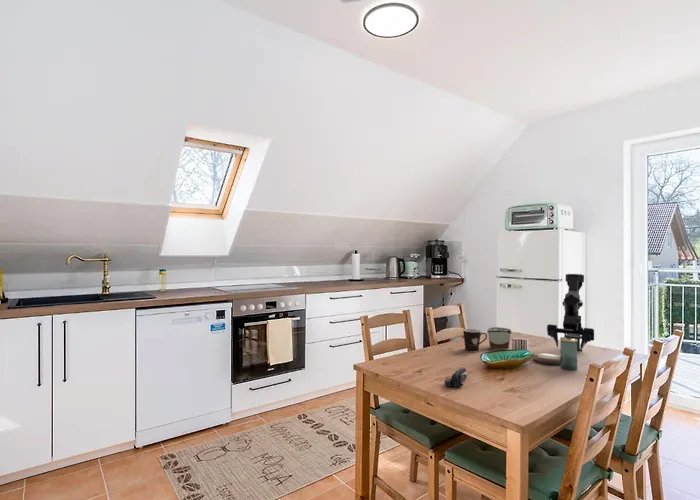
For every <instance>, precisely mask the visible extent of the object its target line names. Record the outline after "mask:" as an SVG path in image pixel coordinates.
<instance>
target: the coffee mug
mask: <svg viewBox="0 0 700 500" xmlns="http://www.w3.org/2000/svg"><path fill="white" fill-rule="evenodd" d="M462 332H463V340H464V341H463V342H464V348H465V349H466V350H468V351H467V352H470V351H477V352H479V347H480V345H481V344H482V343H483V342H485V341H486V340H487V338H488V335H487V334H488V333H487V332H482V331H481V330H480V329H476V328H464V329H463V331H462ZM482 335H485V338H484V339H483V340H481V336H482ZM480 340H481V341H480ZM465 349H464V350H465ZM466 350H465V351H466Z"/></svg>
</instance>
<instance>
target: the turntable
mask: <svg viewBox="0 0 700 500" xmlns="http://www.w3.org/2000/svg"><path fill="white" fill-rule="evenodd" d="M533 354H535V356H534V357H533V356H532V359H534V360H535V361H536V360H538V361H541V362H547V363H560V354H555V353H551V352H550V353H549V352H535V353H533Z"/></svg>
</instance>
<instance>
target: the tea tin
mask: <svg viewBox="0 0 700 500" xmlns="http://www.w3.org/2000/svg"><path fill="white" fill-rule="evenodd" d="M559 339H560V345H559V348H560V354H559V356H560V364H559V368H560V369H561V370H564V371H571V372H572V371H573V372H574V371H577V370H578V351H577V347H578V339H576V338H571V337H564V336H561V337H560V338H559Z"/></svg>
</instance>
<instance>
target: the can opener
mask: <svg viewBox="0 0 700 500" xmlns="http://www.w3.org/2000/svg"><path fill="white" fill-rule="evenodd" d="M466 371H467V369H466V368H464V367H462V368H459V369H456V370H455V372H453V374H452V376H451V378H446V379H445V380H444V385H445V386H447V387H456V388H460V387H463V386H464V384H463V382H464V381H463V380H466V379H467V377H468V375H467V374H465V372H466Z"/></svg>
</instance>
